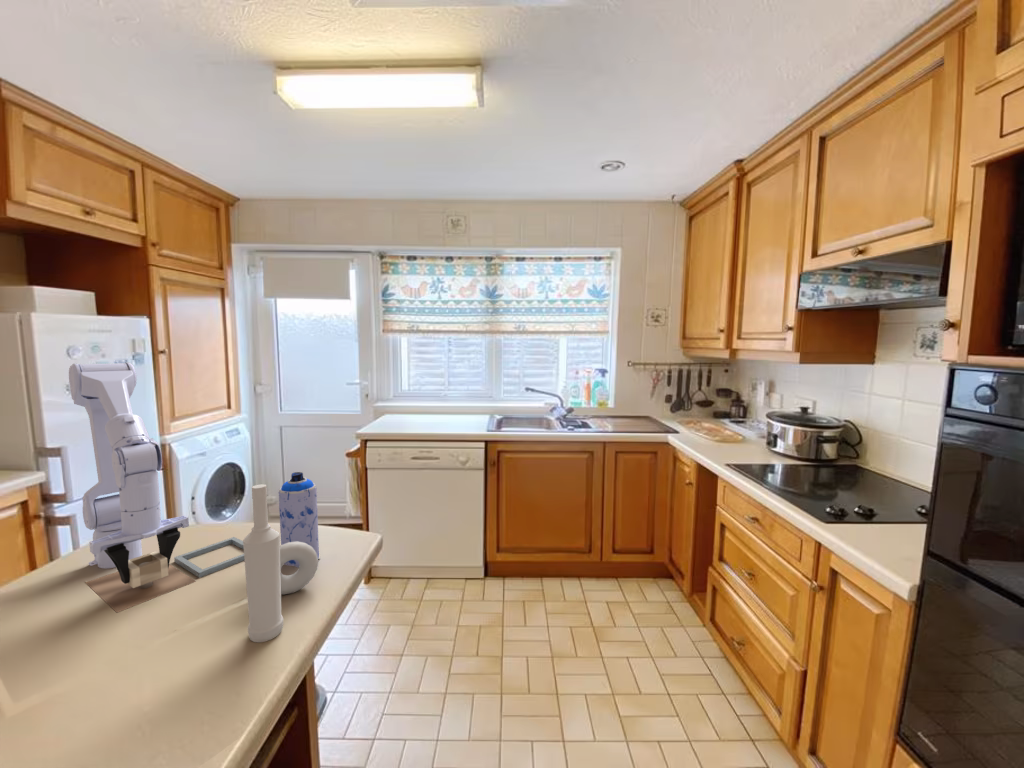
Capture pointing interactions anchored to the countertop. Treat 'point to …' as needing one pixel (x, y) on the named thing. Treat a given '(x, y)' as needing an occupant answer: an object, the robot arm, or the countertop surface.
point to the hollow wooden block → (147, 569)
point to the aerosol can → (299, 513)
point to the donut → (306, 567)
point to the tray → (197, 570)
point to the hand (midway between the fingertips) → (145, 574)
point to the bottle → (263, 572)
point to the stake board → (136, 588)
